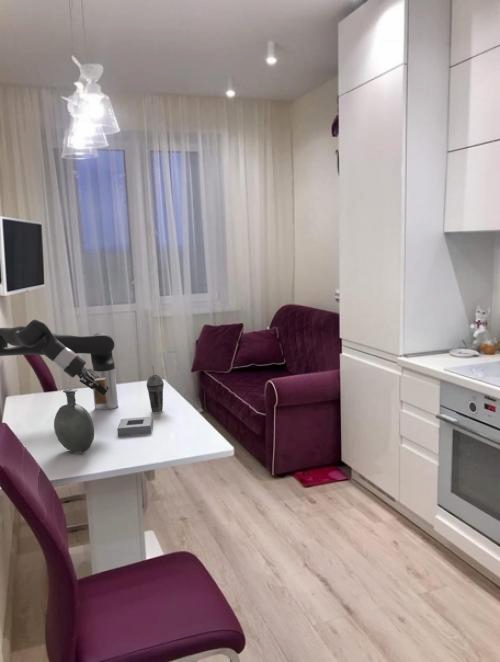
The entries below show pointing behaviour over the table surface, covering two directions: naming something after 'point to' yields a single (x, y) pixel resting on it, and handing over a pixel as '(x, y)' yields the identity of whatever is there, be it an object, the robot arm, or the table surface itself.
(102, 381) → the peg
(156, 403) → the beverage cup
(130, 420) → the socket
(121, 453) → the table surface
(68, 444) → the flask
